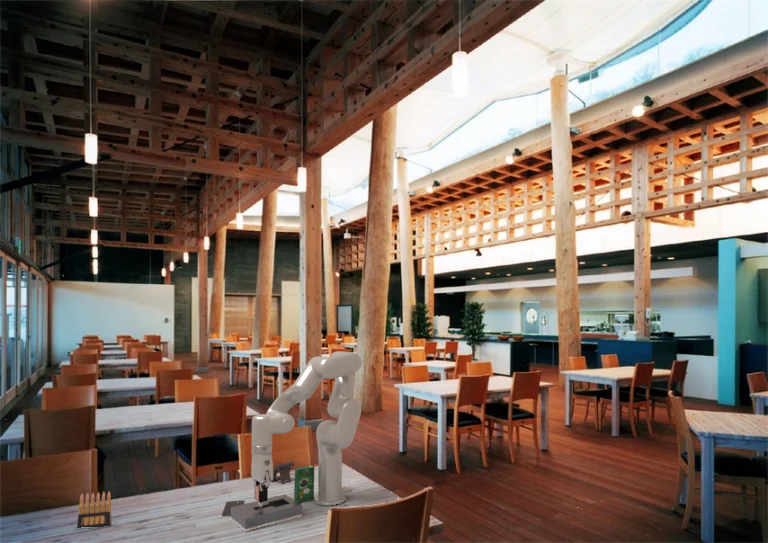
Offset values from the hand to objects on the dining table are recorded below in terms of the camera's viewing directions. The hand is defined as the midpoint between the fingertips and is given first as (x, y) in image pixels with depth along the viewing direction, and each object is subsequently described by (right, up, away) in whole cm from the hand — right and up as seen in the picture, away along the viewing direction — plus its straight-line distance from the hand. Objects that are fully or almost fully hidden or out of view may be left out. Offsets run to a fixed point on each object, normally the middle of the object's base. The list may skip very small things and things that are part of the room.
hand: (260, 499), depth 191 cm
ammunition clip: (-58, -8, -6) cm, 59 cm away
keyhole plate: (+2, -7, +1) cm, 7 cm away
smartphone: (-13, -9, +11) cm, 19 cm away
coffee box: (+13, -9, +19) cm, 25 cm away
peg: (0, -6, -1) cm, 6 cm away
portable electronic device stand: (-1, -11, +44) cm, 45 cm away
